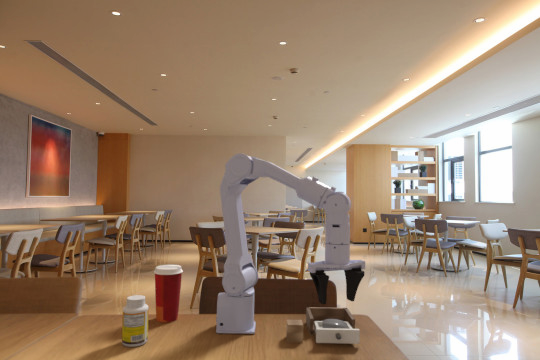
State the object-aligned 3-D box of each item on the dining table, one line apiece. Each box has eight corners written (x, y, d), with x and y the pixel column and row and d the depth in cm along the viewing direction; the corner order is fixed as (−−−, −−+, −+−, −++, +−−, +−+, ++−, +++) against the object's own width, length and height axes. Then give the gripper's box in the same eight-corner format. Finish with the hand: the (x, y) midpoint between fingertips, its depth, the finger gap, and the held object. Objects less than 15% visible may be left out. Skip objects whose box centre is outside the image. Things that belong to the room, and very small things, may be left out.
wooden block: (287, 342, 87) (287, 324, 87) (286, 336, 90) (286, 319, 90) (302, 342, 87) (303, 325, 87) (301, 336, 90) (301, 319, 90)
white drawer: (316, 344, 84) (317, 330, 84) (311, 328, 94) (311, 316, 94) (360, 345, 84) (360, 331, 84) (350, 328, 94) (350, 316, 94)
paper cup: (185, 315, 104) (186, 264, 104) (175, 324, 96) (177, 270, 97) (158, 313, 105) (160, 263, 105) (146, 323, 97) (148, 269, 98)
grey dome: (320, 326, 92) (320, 318, 92) (342, 326, 93) (342, 318, 93) (325, 335, 87) (325, 327, 87) (348, 335, 87) (348, 327, 87)
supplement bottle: (133, 336, 88) (135, 292, 89) (152, 340, 86) (154, 295, 86) (115, 345, 83) (117, 298, 83) (135, 349, 81) (137, 302, 81)
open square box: (310, 335, 91) (310, 318, 91) (306, 322, 100) (306, 307, 101) (354, 335, 91) (355, 319, 92) (346, 322, 101) (346, 307, 101)
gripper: (318, 246, 81) (317, 309, 81) (373, 244, 87) (373, 303, 86) (303, 242, 88) (303, 300, 87) (355, 240, 93) (355, 295, 93)
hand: (336, 301), depth 87 cm, fingers open, 7 cm apart
